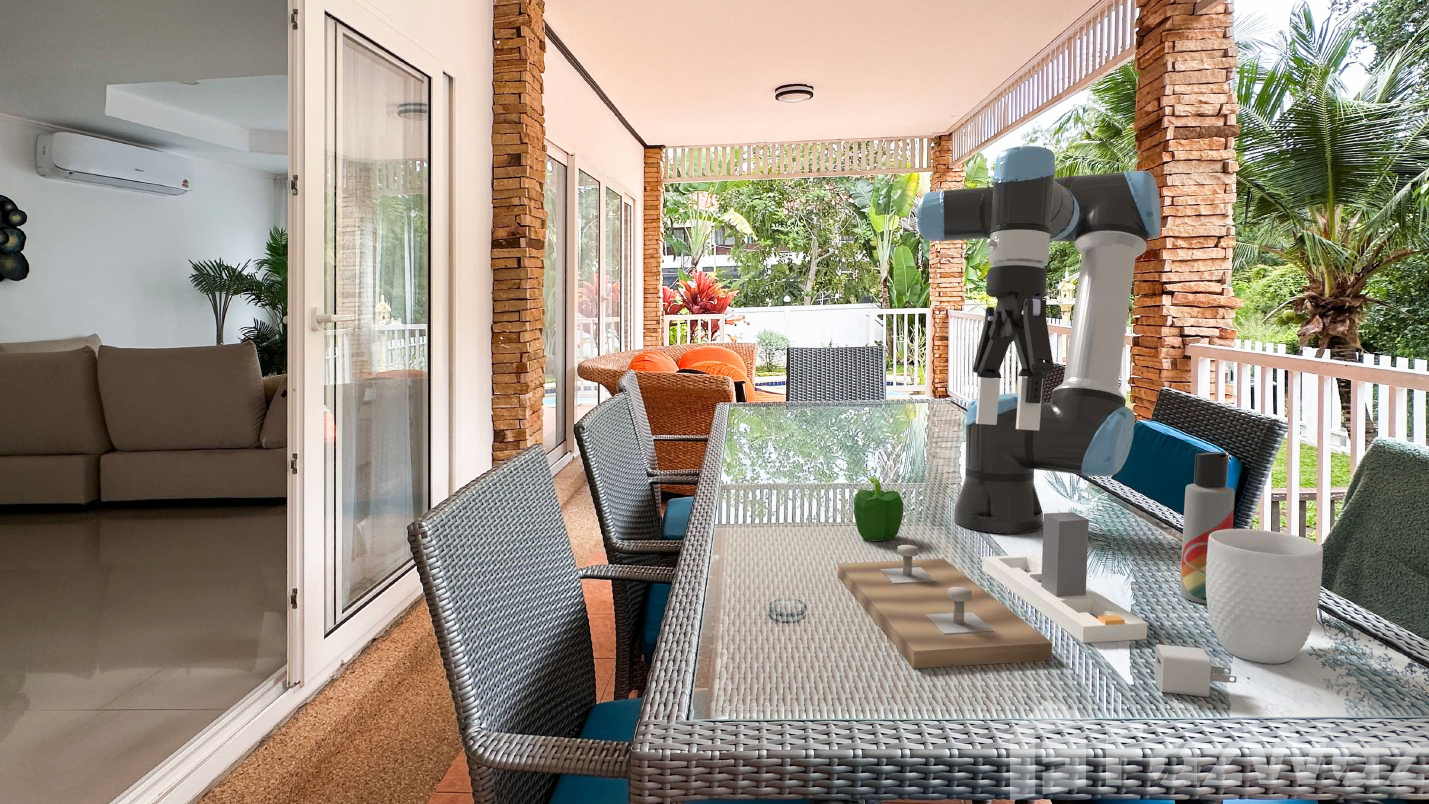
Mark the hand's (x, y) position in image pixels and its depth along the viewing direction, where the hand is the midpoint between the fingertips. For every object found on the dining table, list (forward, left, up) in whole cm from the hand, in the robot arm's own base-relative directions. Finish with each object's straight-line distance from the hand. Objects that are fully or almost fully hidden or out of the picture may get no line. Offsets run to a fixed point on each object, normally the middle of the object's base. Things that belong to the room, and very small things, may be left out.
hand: (1005, 427), depth 116 cm
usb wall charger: (-7, +30, -23) cm, 39 cm away
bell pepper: (+8, -30, -23) cm, 39 cm away
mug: (-21, +22, -23) cm, 38 cm away
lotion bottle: (-26, +5, -23) cm, 36 cm away
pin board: (+12, +5, -23) cm, 26 cm away
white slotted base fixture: (-6, +3, -23) cm, 24 cm away
